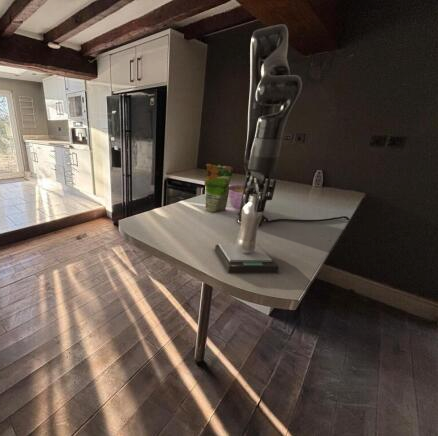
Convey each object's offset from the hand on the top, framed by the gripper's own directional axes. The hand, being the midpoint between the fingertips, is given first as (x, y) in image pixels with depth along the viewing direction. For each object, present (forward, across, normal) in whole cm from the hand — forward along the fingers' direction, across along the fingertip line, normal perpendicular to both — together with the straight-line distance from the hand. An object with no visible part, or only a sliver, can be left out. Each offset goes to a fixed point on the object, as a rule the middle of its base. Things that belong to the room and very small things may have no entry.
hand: (253, 207), depth 74 cm
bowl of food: (+19, +51, -22) cm, 59 cm away
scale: (+19, -1, 0) cm, 19 cm away
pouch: (+20, +50, -5) cm, 54 cm away
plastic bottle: (+16, 0, 0) cm, 16 cm away
